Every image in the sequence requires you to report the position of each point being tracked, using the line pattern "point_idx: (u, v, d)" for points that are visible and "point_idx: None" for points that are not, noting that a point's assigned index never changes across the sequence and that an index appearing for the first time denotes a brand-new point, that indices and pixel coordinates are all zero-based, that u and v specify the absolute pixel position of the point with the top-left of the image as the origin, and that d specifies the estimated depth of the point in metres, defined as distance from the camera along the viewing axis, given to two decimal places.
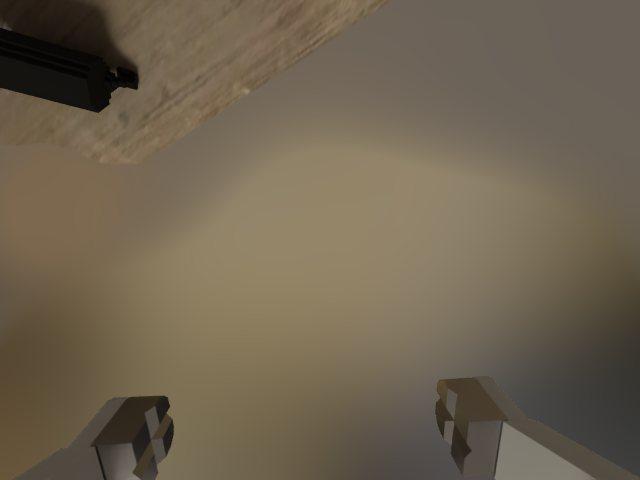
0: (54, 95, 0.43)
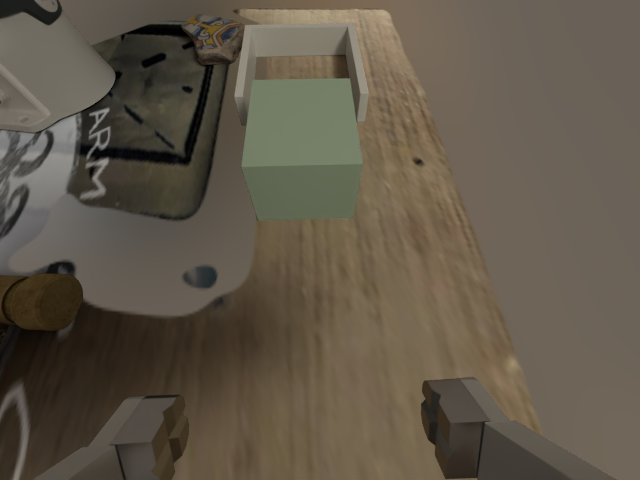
0: None
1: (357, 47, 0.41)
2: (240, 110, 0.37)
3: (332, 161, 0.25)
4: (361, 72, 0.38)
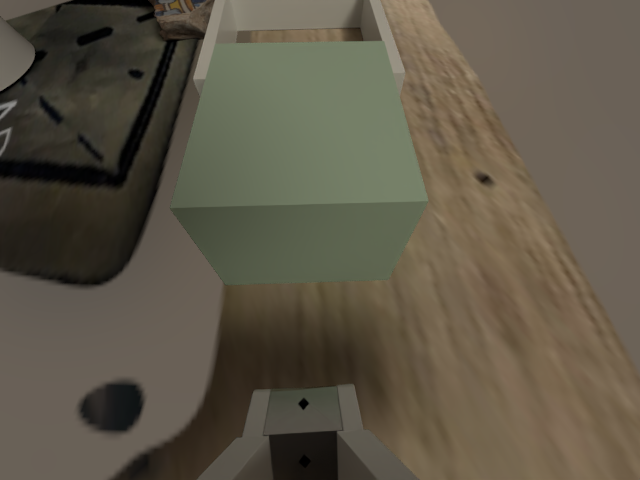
0: None
1: (381, 9, 0.28)
2: None
3: (363, 196, 0.12)
4: (390, 42, 0.25)
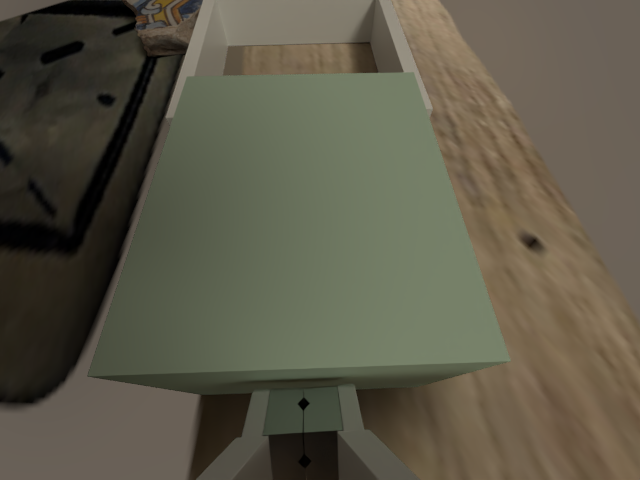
0: None
1: (397, 25, 0.23)
2: None
3: (404, 351, 0.07)
4: (411, 68, 0.20)
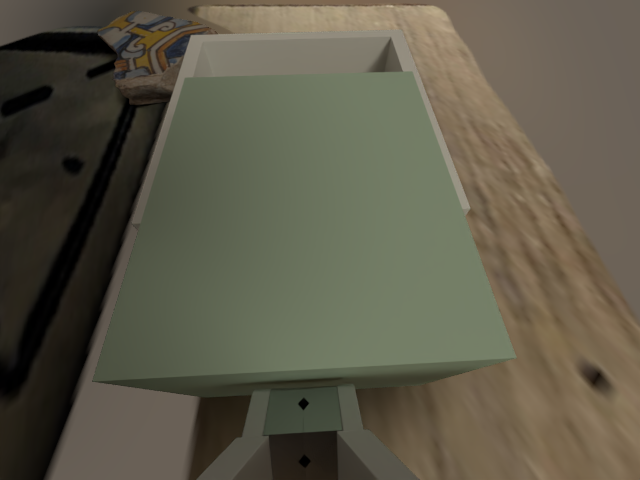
0: None
1: (418, 81, 0.19)
2: None
3: (411, 349, 0.07)
4: (439, 144, 0.16)
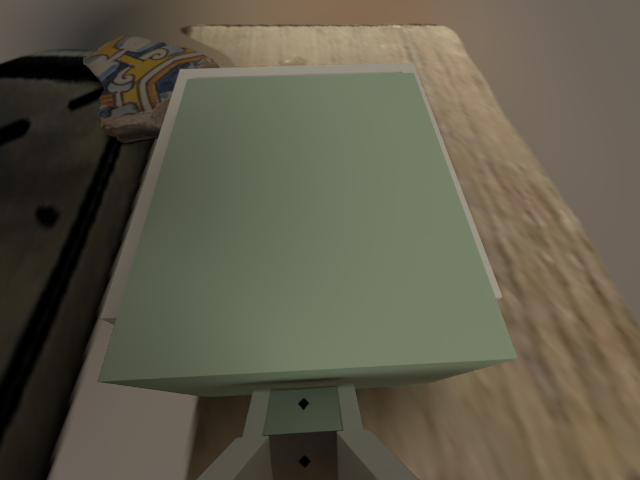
0: None
1: (434, 127, 0.17)
2: None
3: (413, 350, 0.07)
4: None
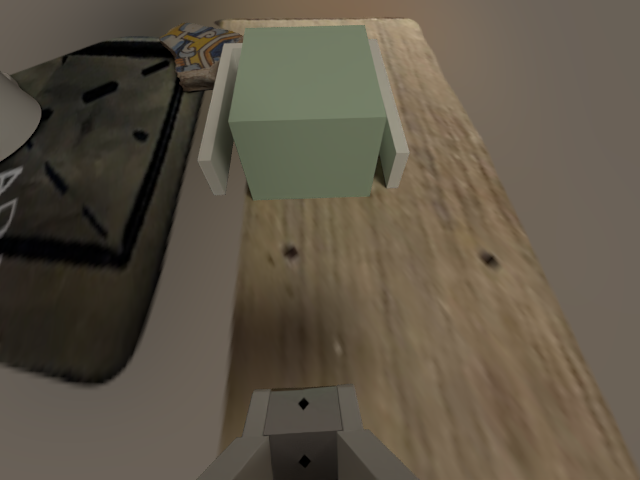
0: None
1: (384, 75, 0.28)
2: (208, 177, 0.24)
3: (346, 115, 0.19)
4: (394, 115, 0.25)
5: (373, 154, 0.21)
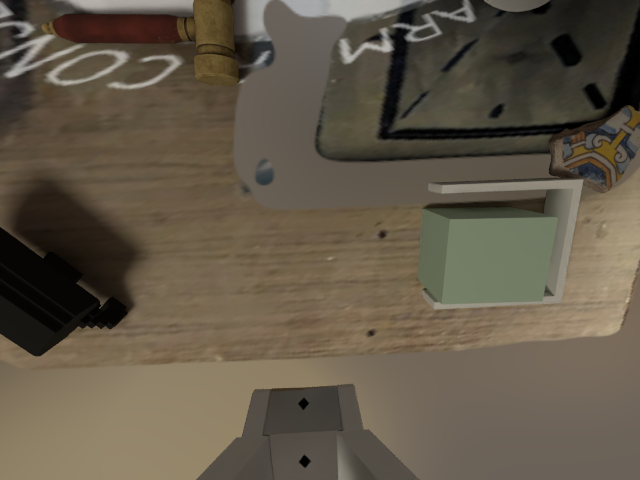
0: None
1: (511, 303, 0.39)
2: (435, 186, 0.36)
3: (446, 284, 0.34)
4: (467, 305, 0.39)
5: (431, 290, 0.37)
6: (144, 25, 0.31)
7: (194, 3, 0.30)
